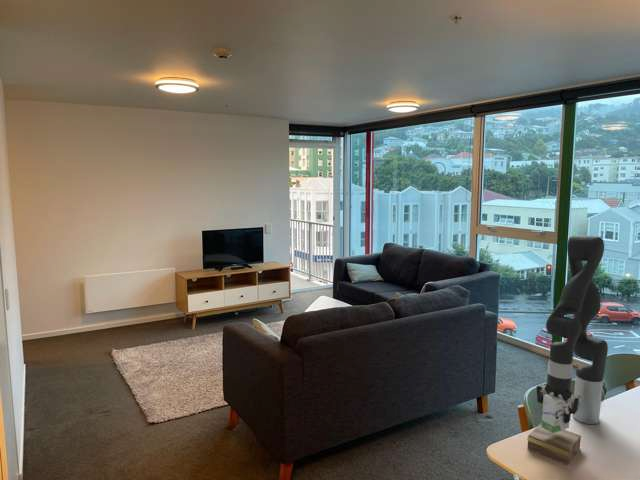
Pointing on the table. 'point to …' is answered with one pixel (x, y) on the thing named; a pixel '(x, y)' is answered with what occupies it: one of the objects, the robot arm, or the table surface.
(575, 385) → the robot arm
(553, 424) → the ink box
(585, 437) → the table surface
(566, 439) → the walnut dock
